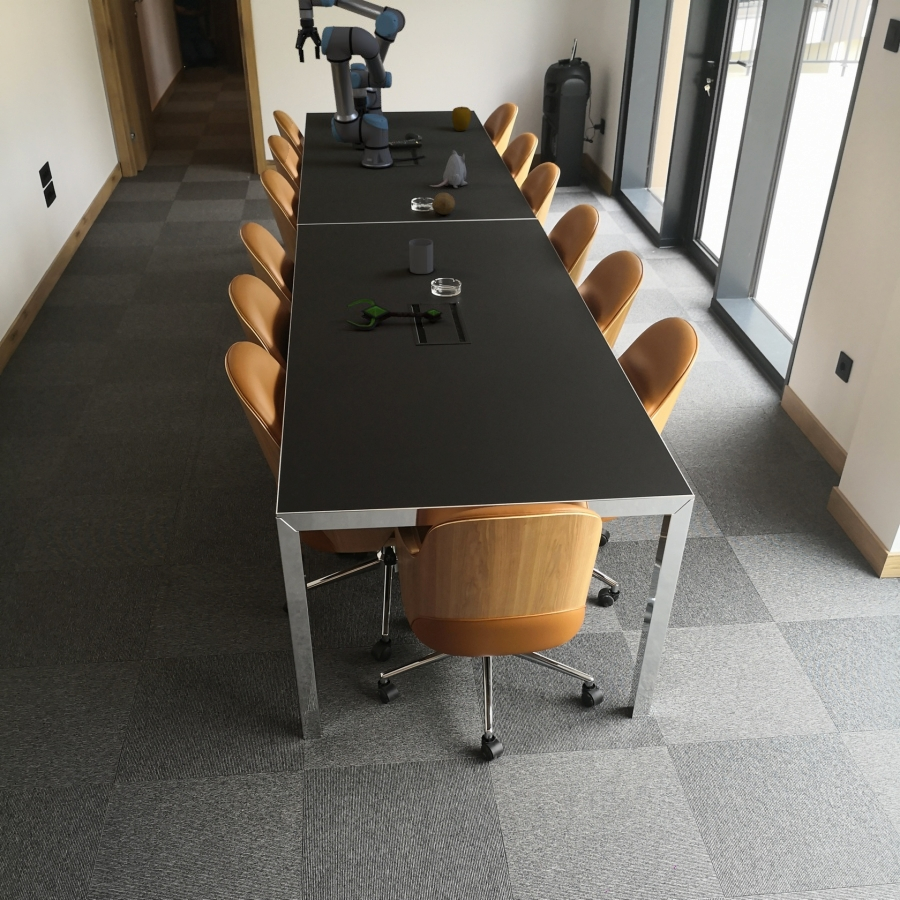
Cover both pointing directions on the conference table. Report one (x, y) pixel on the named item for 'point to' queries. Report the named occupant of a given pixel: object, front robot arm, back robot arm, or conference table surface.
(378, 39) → the back robot arm
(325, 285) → the conference table surface
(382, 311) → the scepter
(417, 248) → the cup
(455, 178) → the toy
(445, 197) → the potato
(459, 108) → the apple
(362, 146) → the block
